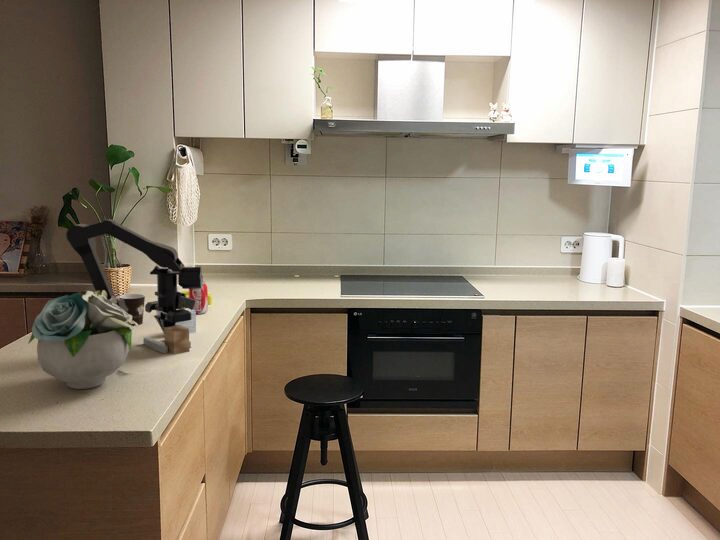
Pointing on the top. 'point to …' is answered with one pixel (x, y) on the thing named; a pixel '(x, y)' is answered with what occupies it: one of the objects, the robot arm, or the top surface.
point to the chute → (157, 345)
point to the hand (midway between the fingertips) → (168, 338)
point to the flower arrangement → (82, 338)
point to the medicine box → (189, 322)
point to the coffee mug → (134, 306)
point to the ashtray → (208, 296)
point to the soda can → (200, 298)
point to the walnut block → (177, 339)
